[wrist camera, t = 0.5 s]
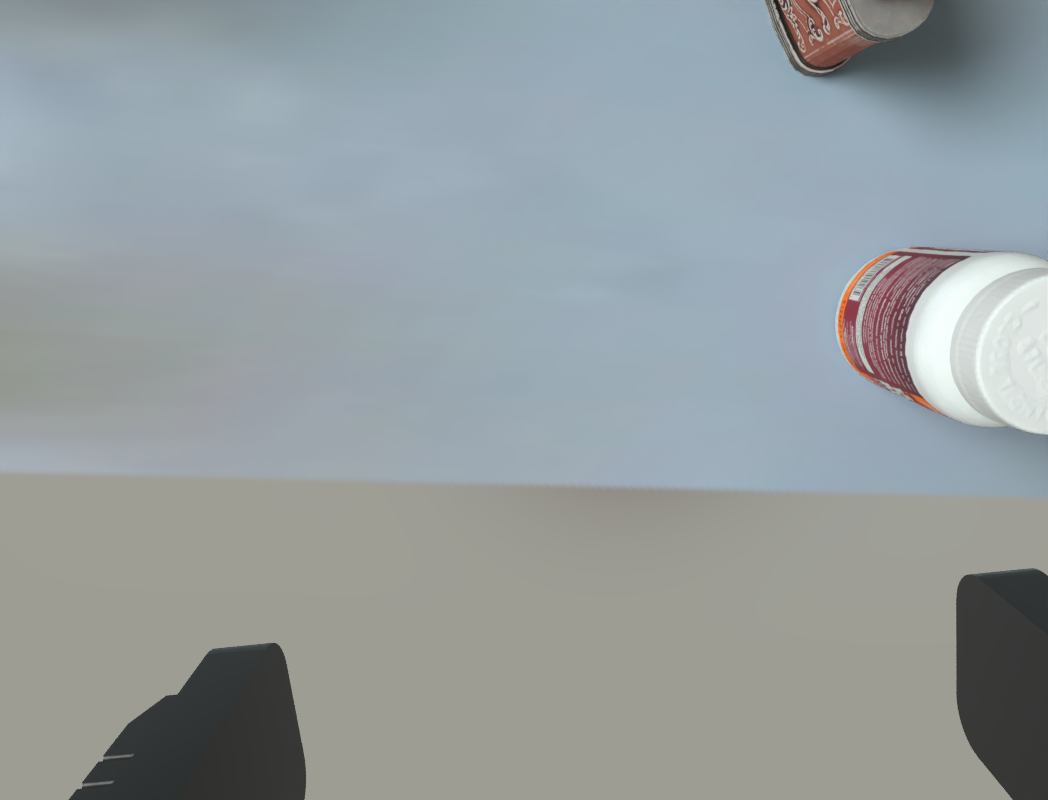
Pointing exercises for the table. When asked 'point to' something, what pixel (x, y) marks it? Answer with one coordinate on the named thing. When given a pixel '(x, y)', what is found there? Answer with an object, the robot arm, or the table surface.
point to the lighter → (839, 28)
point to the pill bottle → (953, 332)
